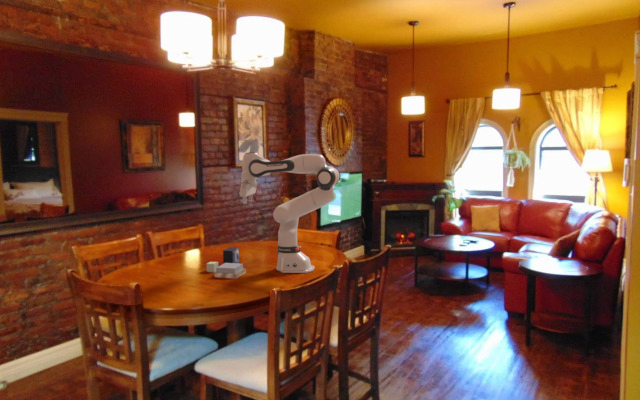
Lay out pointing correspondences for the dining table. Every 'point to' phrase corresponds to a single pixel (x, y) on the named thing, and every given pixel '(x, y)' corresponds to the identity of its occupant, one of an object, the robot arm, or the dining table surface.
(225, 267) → the top slab
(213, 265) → the beige block
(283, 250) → the robot arm
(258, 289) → the dining table surface
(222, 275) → the bottom slab
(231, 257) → the small box
